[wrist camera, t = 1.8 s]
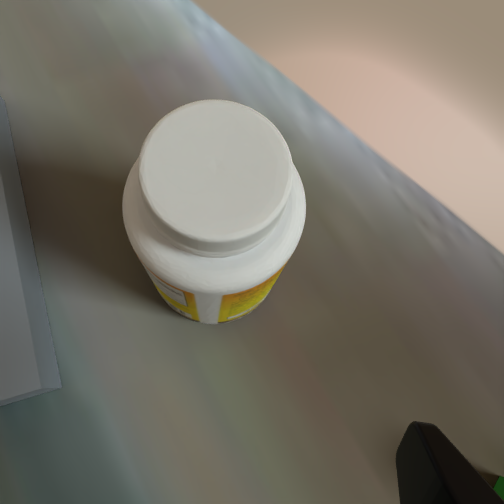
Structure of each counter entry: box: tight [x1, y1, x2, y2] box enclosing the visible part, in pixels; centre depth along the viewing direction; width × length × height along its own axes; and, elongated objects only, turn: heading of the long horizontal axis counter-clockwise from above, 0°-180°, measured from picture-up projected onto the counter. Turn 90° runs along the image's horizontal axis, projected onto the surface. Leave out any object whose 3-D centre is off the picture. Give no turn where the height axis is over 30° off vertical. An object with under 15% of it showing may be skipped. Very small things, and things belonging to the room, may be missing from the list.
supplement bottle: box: [122, 100, 306, 324], centre depth 17 cm, size 6×6×10 cm
